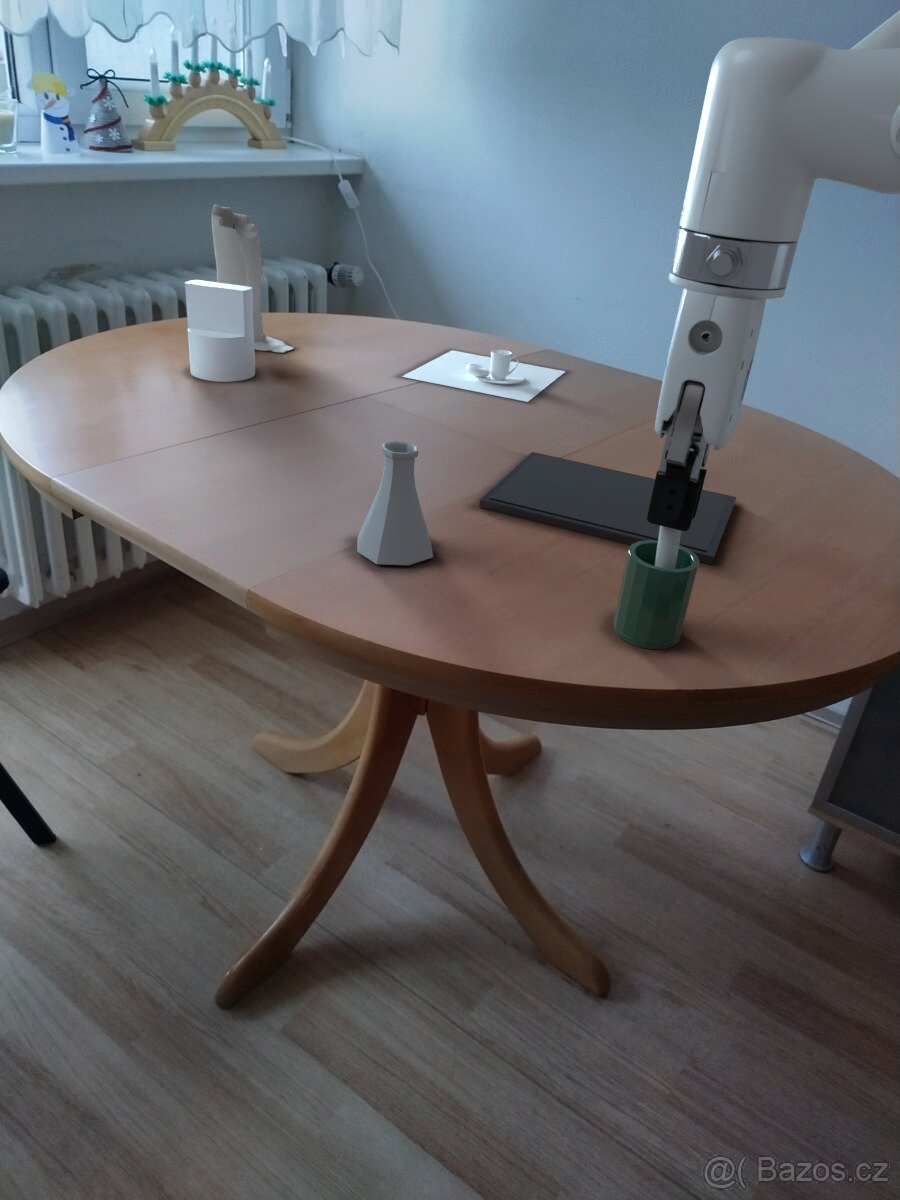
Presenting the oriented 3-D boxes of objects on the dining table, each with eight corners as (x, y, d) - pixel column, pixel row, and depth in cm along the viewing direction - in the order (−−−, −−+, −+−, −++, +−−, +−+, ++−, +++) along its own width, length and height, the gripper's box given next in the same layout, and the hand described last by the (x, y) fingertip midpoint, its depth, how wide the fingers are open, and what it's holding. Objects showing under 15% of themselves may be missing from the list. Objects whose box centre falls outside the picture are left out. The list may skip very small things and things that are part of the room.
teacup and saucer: (459, 379, 130) (462, 352, 128) (478, 368, 137) (481, 342, 135) (514, 390, 128) (517, 362, 126) (531, 378, 134) (534, 351, 132)
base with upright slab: (178, 376, 120) (172, 286, 114) (208, 360, 128) (203, 276, 122) (239, 385, 119) (235, 294, 113) (265, 369, 127) (263, 283, 121)
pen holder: (685, 625, 72) (704, 550, 68) (673, 656, 67) (692, 578, 64) (621, 608, 73) (637, 534, 70) (606, 637, 69) (621, 560, 66)
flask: (345, 537, 81) (347, 435, 76) (416, 529, 84) (423, 430, 79) (370, 572, 75) (374, 465, 70) (446, 563, 78) (455, 458, 73)
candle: (274, 355, 134) (272, 215, 124) (208, 338, 139) (200, 203, 129) (304, 347, 139) (303, 212, 129) (239, 331, 145) (233, 201, 135)
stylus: (667, 624, 70) (695, 447, 63) (664, 633, 69) (691, 453, 62) (648, 620, 71) (673, 444, 64) (644, 629, 69) (669, 450, 62)
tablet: (734, 504, 96) (736, 496, 95) (711, 565, 82) (714, 555, 82) (531, 458, 103) (532, 450, 103) (478, 507, 89) (479, 498, 89)
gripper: (779, 289, 49) (704, 574, 58) (798, 259, 62) (733, 497, 71) (649, 269, 51) (596, 547, 60) (693, 244, 64) (644, 476, 73)
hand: (671, 518), depth 65 cm, fingers closed on stylus, 1 cm apart
